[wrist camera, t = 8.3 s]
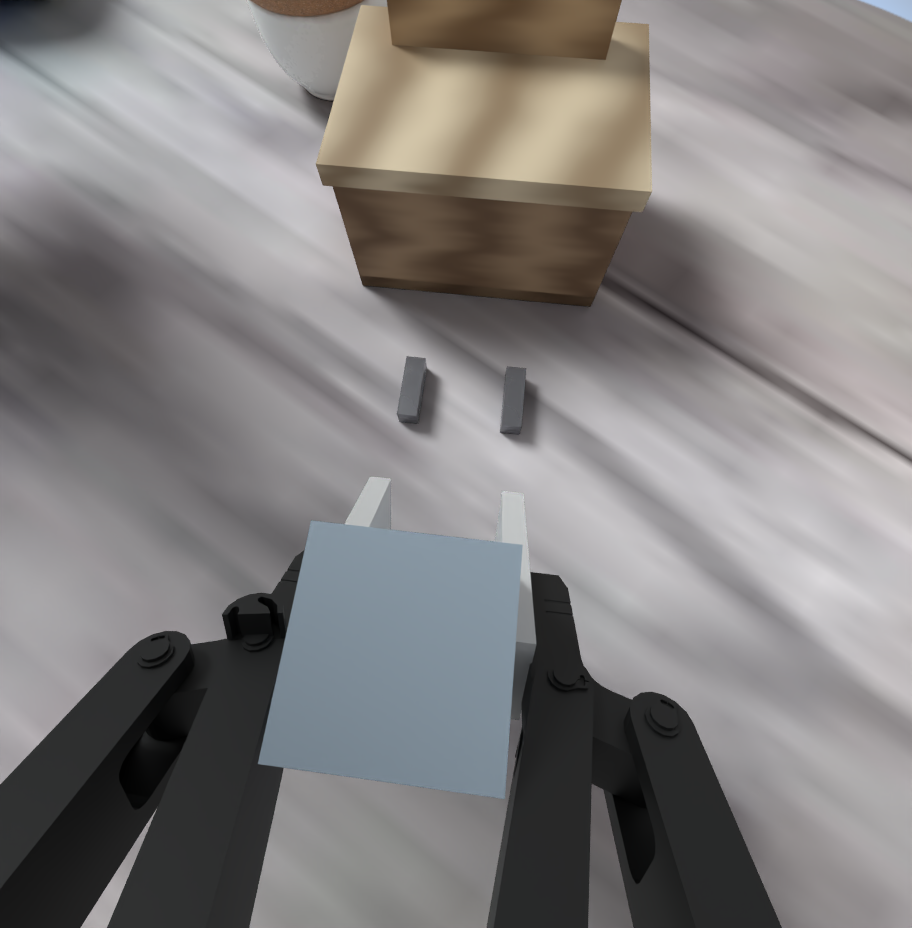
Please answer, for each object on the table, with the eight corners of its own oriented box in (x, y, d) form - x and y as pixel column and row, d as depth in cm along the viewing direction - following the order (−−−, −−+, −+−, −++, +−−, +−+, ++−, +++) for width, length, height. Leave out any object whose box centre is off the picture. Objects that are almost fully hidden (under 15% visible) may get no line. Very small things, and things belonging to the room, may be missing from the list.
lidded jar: (396, 122, 36) (375, -37, 27) (265, 120, 36) (202, -38, 27) (404, 35, 39) (388, -132, 30) (284, 33, 40) (233, -133, 31)
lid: (322, 185, 24) (294, 99, 20) (365, 30, 27) (348, -69, 23) (642, 212, 23) (681, 129, 19) (640, 49, 27) (672, -50, 23)
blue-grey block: (378, 670, 18) (258, 763, 7) (394, 568, 19) (311, 520, 8) (478, 683, 17) (504, 799, 7) (488, 579, 19) (522, 544, 8)
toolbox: (362, 285, 31) (331, 182, 24) (390, 159, 35) (370, 34, 27) (590, 306, 31) (634, 207, 23) (594, 175, 34) (633, 53, 27)
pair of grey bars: (399, 421, 28) (396, 413, 27) (408, 366, 29) (406, 356, 28) (519, 434, 28) (521, 426, 27) (523, 377, 29) (526, 368, 28)
